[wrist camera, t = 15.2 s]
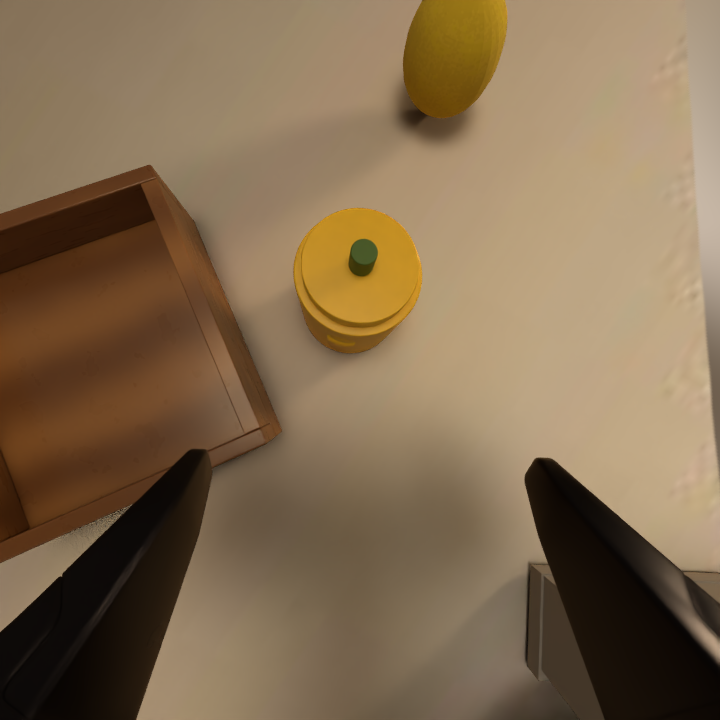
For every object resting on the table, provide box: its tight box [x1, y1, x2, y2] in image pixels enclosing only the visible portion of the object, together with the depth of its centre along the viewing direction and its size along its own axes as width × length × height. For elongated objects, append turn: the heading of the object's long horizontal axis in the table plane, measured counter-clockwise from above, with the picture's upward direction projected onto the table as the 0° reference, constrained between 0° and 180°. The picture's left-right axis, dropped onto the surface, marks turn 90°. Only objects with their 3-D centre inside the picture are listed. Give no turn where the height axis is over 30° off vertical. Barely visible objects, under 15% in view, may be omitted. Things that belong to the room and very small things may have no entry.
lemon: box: [403, 0, 507, 118], centre depth 21 cm, size 6×6×8 cm
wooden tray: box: [0, 165, 282, 563], centre depth 18 cm, size 15×14×6 cm
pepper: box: [293, 208, 422, 353], centre depth 18 cm, size 6×6×9 cm
